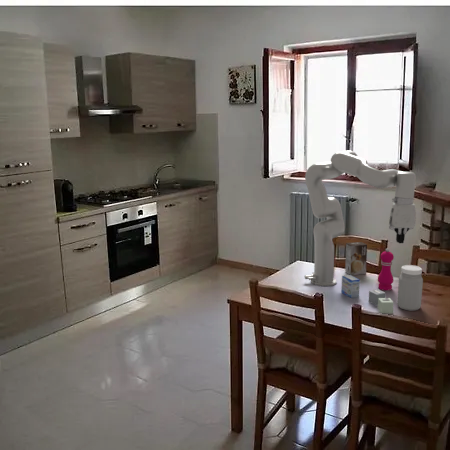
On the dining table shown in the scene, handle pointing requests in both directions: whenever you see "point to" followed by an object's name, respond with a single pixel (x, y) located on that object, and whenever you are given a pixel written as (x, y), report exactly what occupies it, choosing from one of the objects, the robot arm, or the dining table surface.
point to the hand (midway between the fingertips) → (399, 242)
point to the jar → (410, 288)
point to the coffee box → (356, 258)
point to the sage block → (385, 305)
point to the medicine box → (350, 286)
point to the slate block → (376, 296)
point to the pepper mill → (386, 271)
